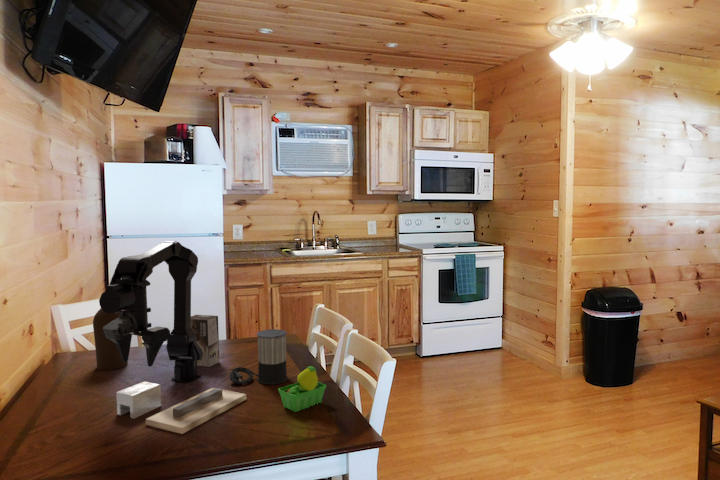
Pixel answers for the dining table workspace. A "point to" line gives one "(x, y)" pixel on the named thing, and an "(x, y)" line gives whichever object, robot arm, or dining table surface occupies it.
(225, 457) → the dining table surface
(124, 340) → the robot arm
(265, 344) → the milk frother
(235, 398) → the rail board
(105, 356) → the olive oil
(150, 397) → the saddle block
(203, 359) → the coffee box
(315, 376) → the fruit basket
